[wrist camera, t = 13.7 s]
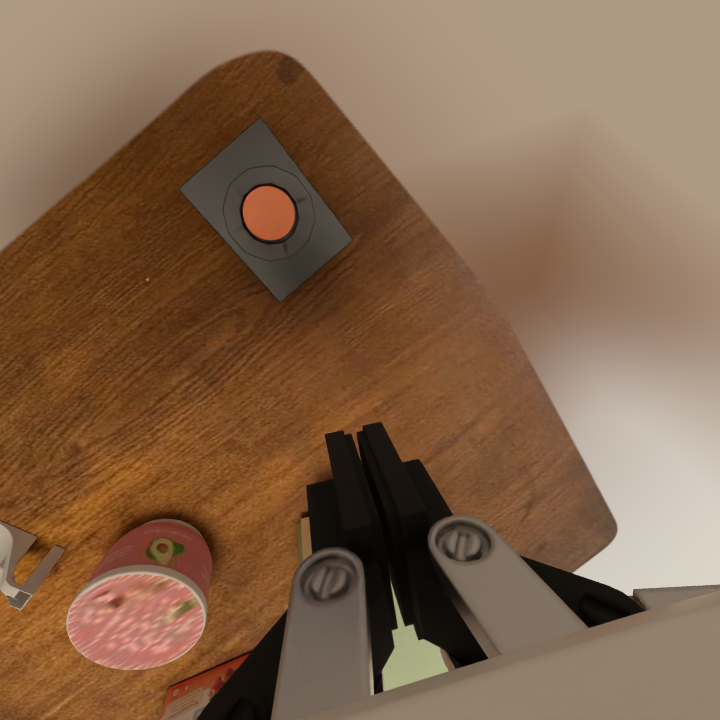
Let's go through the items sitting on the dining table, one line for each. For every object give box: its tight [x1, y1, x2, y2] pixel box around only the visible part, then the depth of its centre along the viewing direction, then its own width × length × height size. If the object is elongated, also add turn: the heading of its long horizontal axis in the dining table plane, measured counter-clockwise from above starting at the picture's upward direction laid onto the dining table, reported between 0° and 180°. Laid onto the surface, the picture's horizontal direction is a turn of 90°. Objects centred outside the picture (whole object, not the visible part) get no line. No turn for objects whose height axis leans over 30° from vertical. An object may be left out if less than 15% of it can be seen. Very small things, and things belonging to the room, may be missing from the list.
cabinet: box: [297, 523, 449, 691], centre depth 40 cm, size 15×13×9 cm
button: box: [243, 186, 295, 240], centre depth 28 cm, size 4×4×2 cm
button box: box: [179, 117, 353, 302], centre depth 30 cm, size 11×8×4 cm
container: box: [66, 519, 213, 670], centre depth 36 cm, size 10×10×8 cm
